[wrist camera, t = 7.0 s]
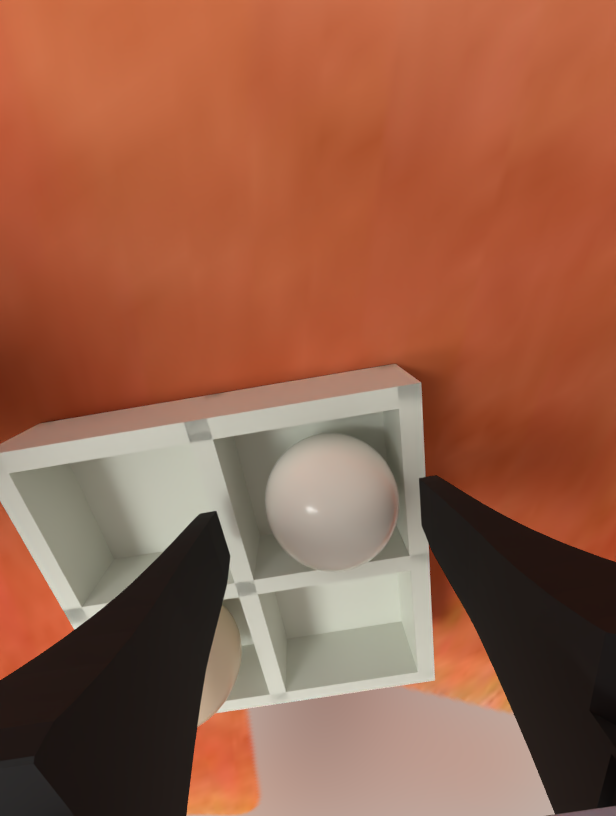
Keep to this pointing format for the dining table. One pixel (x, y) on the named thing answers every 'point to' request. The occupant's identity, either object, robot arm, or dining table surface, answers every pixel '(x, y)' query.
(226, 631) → the brown egg
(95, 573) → the egg tray
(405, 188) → the dining table surface
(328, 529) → the cream egg
